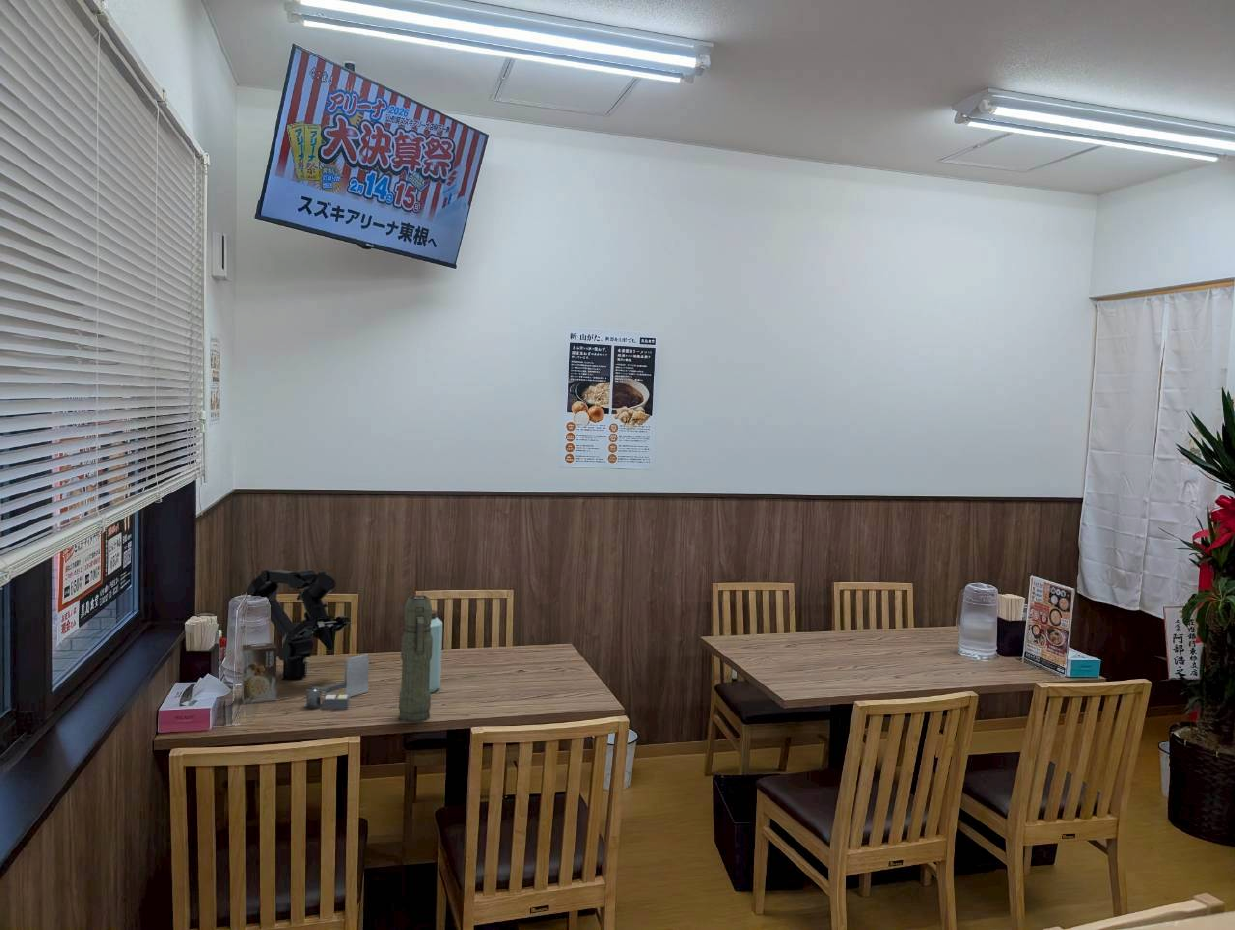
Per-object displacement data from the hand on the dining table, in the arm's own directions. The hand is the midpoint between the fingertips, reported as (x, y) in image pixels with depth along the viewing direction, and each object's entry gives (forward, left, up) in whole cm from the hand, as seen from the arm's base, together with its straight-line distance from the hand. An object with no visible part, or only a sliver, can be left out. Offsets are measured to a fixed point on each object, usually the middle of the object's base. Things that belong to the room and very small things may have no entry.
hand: (331, 650), depth 259 cm
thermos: (+29, -21, -13) cm, 38 cm away
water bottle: (+28, +3, -13) cm, 31 cm away
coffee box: (-19, -9, -13) cm, 25 cm away
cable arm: (+4, -8, -13) cm, 16 cm away
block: (+5, -14, -13) cm, 20 cm away
